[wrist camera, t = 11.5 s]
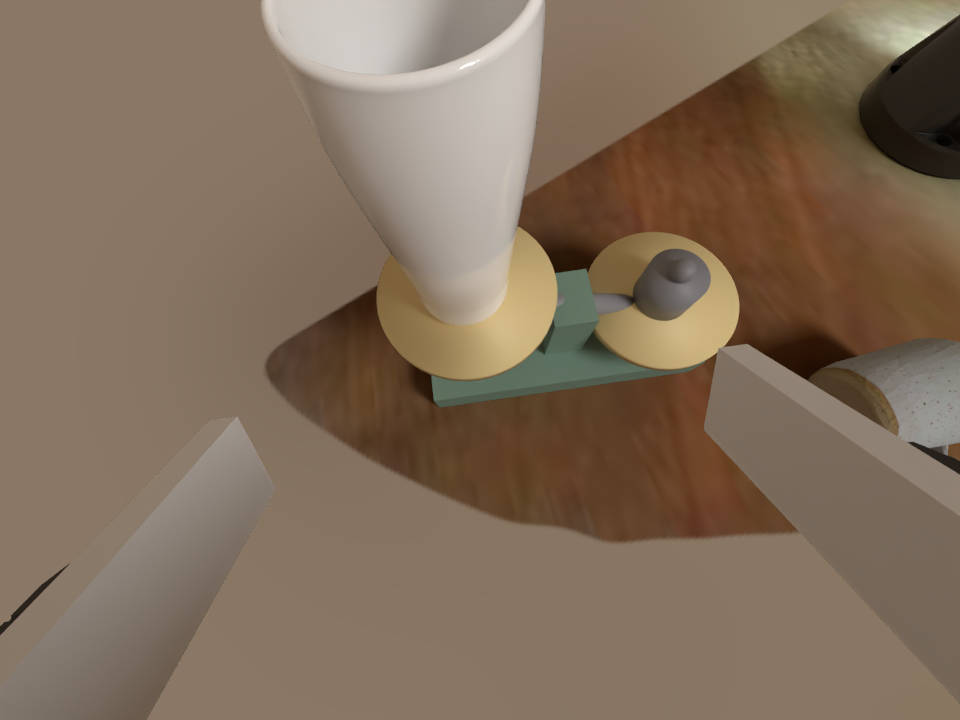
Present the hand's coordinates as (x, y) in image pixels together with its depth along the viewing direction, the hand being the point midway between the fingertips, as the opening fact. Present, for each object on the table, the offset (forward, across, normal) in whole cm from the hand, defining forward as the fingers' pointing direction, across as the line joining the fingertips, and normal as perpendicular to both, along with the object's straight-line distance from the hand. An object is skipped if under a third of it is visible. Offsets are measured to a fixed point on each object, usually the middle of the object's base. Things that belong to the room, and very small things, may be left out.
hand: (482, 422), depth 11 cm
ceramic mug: (+15, +30, -17) cm, 38 cm away
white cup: (+14, 0, 0) cm, 14 cm away
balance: (+22, +7, -9) cm, 25 cm away
